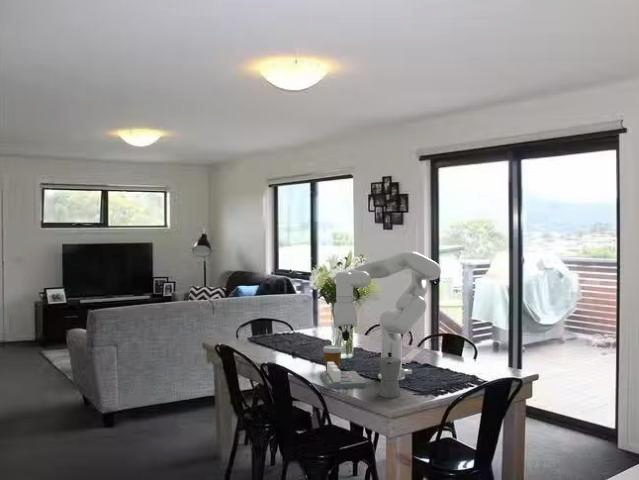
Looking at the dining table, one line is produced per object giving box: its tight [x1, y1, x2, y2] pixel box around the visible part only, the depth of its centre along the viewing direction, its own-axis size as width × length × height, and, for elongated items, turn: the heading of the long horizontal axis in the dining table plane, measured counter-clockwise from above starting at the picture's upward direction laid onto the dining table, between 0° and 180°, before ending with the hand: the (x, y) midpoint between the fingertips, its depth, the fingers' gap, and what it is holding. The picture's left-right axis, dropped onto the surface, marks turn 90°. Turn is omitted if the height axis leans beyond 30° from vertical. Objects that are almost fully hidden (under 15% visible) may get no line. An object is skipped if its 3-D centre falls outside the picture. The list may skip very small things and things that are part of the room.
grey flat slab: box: [319, 370, 367, 390], centre depth 278 cm, size 17×22×2 cm
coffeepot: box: [378, 352, 402, 399], centre depth 257 cm, size 15×9×18 cm, turn 171°
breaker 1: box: [327, 362, 335, 375], centre depth 284 cm, size 3×4×5 cm
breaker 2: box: [330, 365, 338, 378], centre depth 277 cm, size 3×4×5 cm
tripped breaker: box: [332, 368, 342, 382], centre depth 270 cm, size 3×4×5 cm
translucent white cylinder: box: [402, 348, 422, 365], centre depth 315 cm, size 6×6×25 cm
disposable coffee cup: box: [322, 344, 343, 372], centre depth 297 cm, size 10×10×12 cm
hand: (345, 340), depth 273 cm, fingers closed
